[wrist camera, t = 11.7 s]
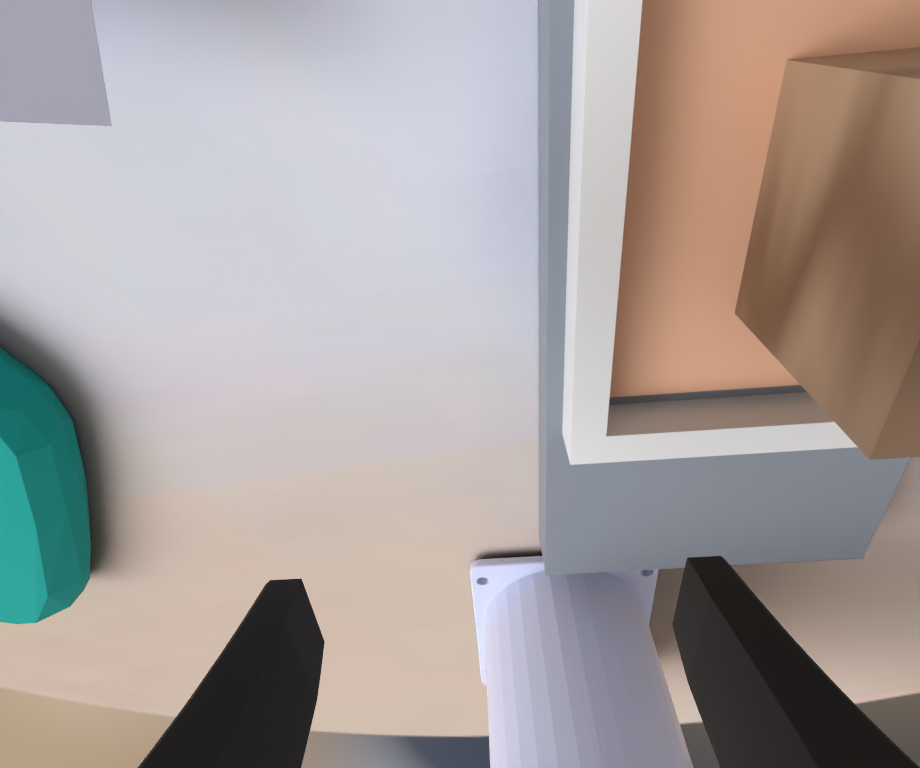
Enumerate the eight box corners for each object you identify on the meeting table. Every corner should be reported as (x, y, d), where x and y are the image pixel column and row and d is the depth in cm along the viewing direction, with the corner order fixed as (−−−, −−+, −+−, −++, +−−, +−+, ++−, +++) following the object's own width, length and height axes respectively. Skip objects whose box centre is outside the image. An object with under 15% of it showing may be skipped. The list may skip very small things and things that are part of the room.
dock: (833, 518, 23) (887, 592, 20) (539, 535, 23) (550, 609, 21) (1227, -445, 10) (1555, -639, 7) (537, -362, 10) (570, -511, 7)
